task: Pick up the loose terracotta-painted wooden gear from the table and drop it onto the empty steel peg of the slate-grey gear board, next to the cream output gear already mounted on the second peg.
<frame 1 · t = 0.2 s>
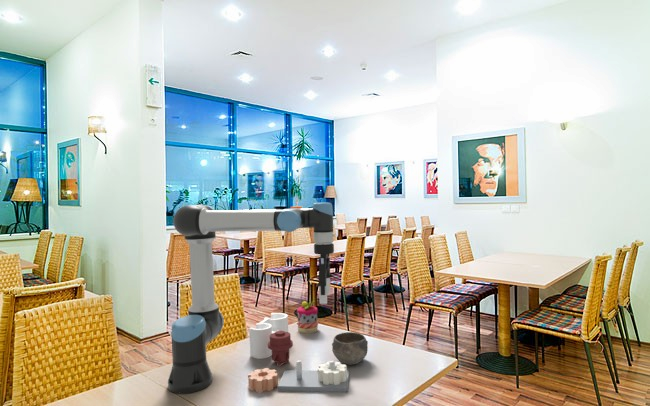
hand: (325, 298, 153), 27 cm above the table, fingers open, 13 cm apart
white joined open cylinders: (270, 348, 179), on the table
gear board: (314, 382, 144), on the table
output gear: (332, 372, 143), point 4 cm above the table, hinge at 0.0°
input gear: (263, 385, 143), on the table
mechanical component: (280, 363, 163), on the table
cake: (307, 330, 202), on the table
bowl: (350, 362, 162), on the table
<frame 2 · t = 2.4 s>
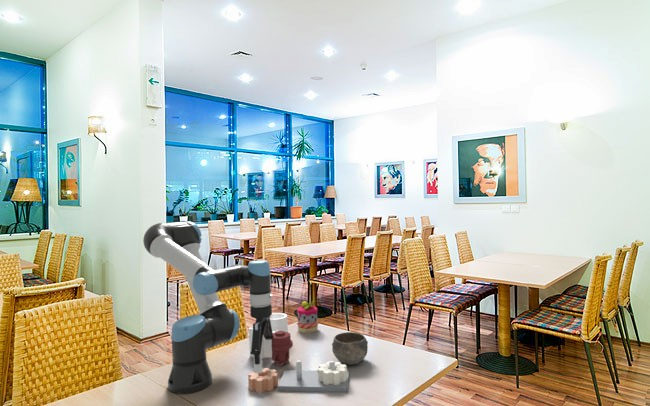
hand: (263, 364, 143), 8 cm above the table, fingers open, 13 cm apart
nothing on the table moved.
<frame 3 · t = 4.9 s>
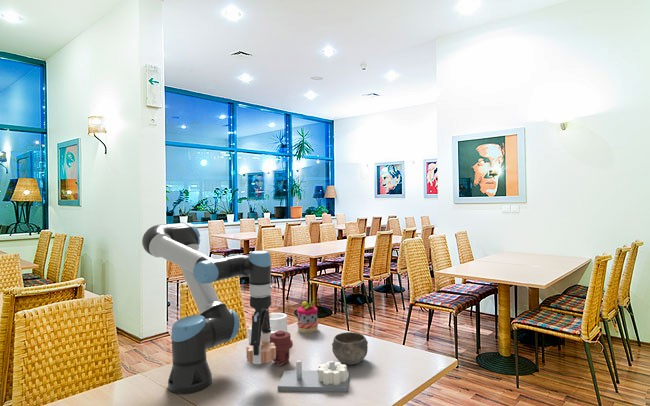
hand: (261, 357, 143), 10 cm above the table, fingers closed on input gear, 10 cm apart
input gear: (261, 357, 143), point 10 cm above the table, touching gripper
everything else where it was.
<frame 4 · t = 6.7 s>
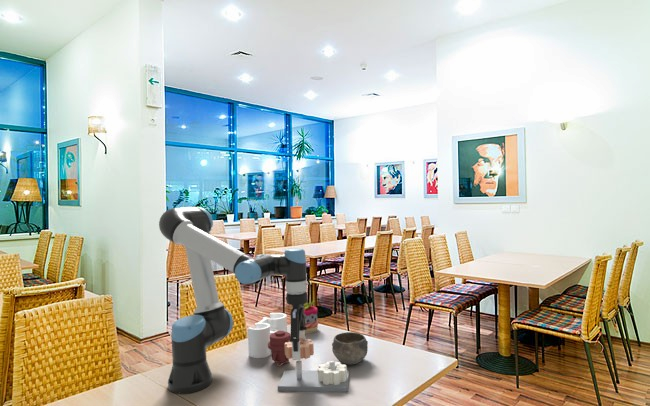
hand: (299, 353, 144), 10 cm above the table, fingers closed on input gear, 10 cm apart
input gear: (299, 354, 144), point 10 cm above the table, touching gripper
everything else where it was.
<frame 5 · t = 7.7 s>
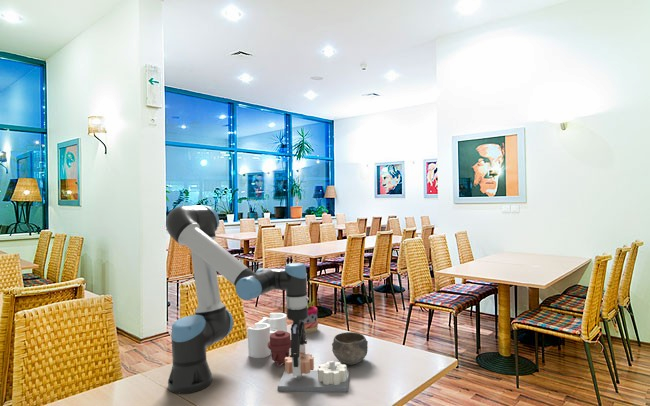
hand: (299, 368, 144), 5 cm above the table, fingers closed on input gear, 10 cm apart
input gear: (299, 369, 144), point 5 cm above the table, touching gripper
everything else where it was.
when the fingers open (3 cm above the table, at t = 8.7 s): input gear drops 1 cm, resting on gear board.
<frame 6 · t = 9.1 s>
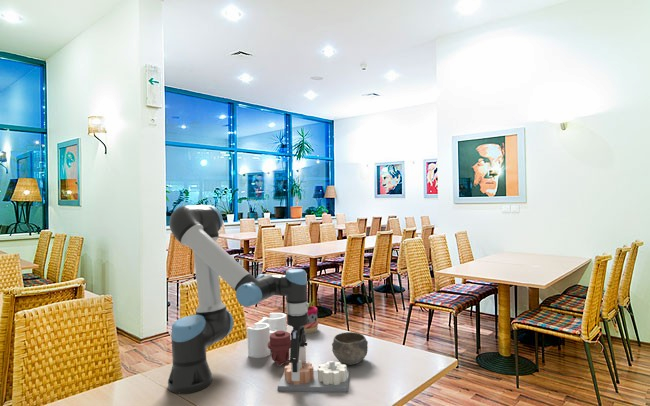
hand: (299, 372, 145), 4 cm above the table, fingers open, 13 cm apart
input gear: (299, 378, 145), point 1 cm above the table, touching gear board
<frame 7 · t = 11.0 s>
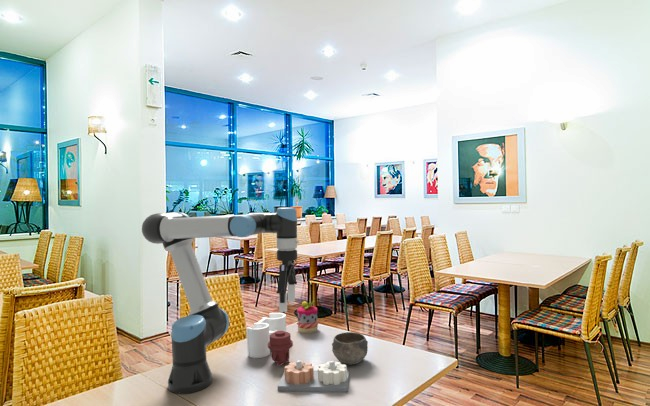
hand: (287, 306, 150), 26 cm above the table, fingers open, 13 cm apart
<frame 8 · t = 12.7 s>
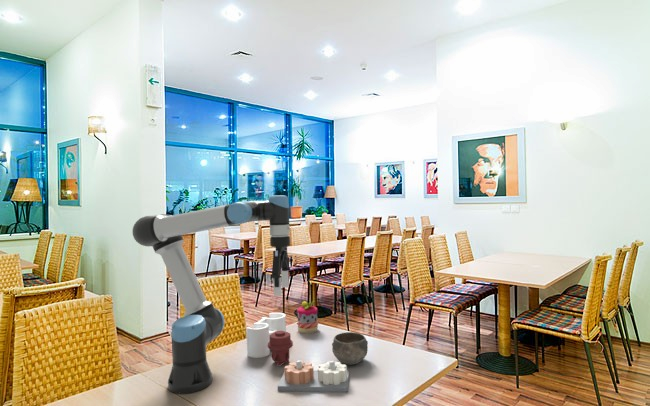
hand: (281, 291, 154), 31 cm above the table, fingers open, 13 cm apart
at the end: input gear 0.0 cm from the target spot, point 1.5 cm above the table; the gripper is holding nothing; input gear tilted 0° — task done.
